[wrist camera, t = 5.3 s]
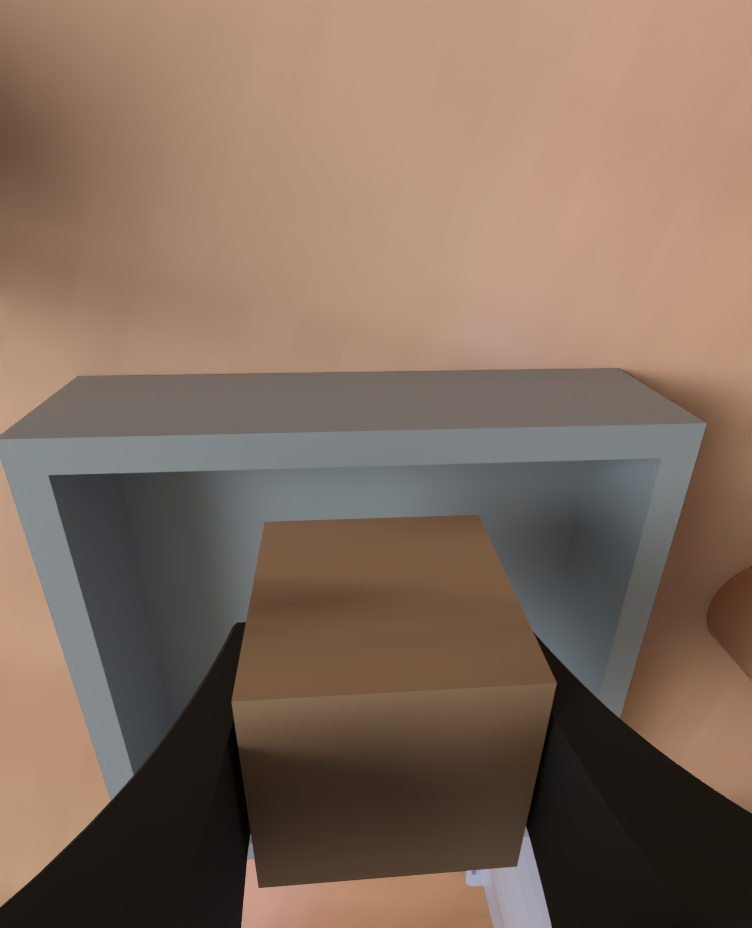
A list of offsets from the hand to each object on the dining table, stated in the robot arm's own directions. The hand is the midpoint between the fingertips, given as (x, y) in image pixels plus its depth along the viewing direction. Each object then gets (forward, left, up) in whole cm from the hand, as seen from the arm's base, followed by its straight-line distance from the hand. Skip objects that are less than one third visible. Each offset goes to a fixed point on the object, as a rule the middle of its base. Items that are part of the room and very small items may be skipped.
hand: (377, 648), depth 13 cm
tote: (-5, 0, -8) cm, 10 cm away
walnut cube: (0, 0, -2) cm, 2 cm away
